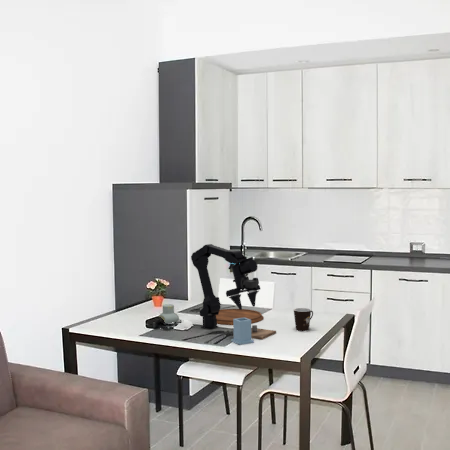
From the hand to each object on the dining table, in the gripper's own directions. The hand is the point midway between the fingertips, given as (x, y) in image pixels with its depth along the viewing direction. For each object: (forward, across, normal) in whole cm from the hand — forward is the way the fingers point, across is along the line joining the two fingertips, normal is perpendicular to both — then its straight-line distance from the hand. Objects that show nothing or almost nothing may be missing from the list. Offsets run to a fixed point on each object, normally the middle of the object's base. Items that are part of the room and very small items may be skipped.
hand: (247, 308), depth 293 cm
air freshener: (-2, -9, +50) cm, 51 cm away
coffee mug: (+17, +29, -7) cm, 34 cm away
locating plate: (+13, +5, +4) cm, 14 cm away
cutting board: (+4, +24, +34) cm, 42 cm away
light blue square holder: (+15, -10, -1) cm, 17 cm away
